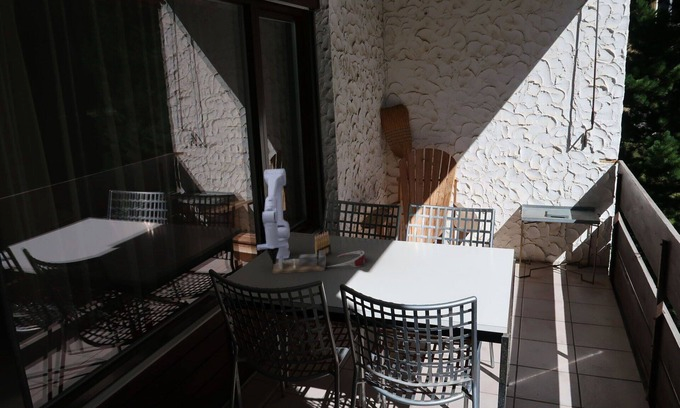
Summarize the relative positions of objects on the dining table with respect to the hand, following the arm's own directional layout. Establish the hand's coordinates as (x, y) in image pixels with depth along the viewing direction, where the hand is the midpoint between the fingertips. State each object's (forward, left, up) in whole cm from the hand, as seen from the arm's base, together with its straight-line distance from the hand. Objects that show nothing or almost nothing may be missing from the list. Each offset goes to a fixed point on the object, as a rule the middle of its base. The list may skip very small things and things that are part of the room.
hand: (274, 263), depth 260 cm
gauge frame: (0, +12, -3) cm, 12 cm away
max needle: (+4, +10, -1) cm, 11 cm away
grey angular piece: (+1, +7, -1) cm, 7 cm away
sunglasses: (-3, +34, -4) cm, 35 cm away
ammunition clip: (-14, +23, -3) cm, 27 cm away
